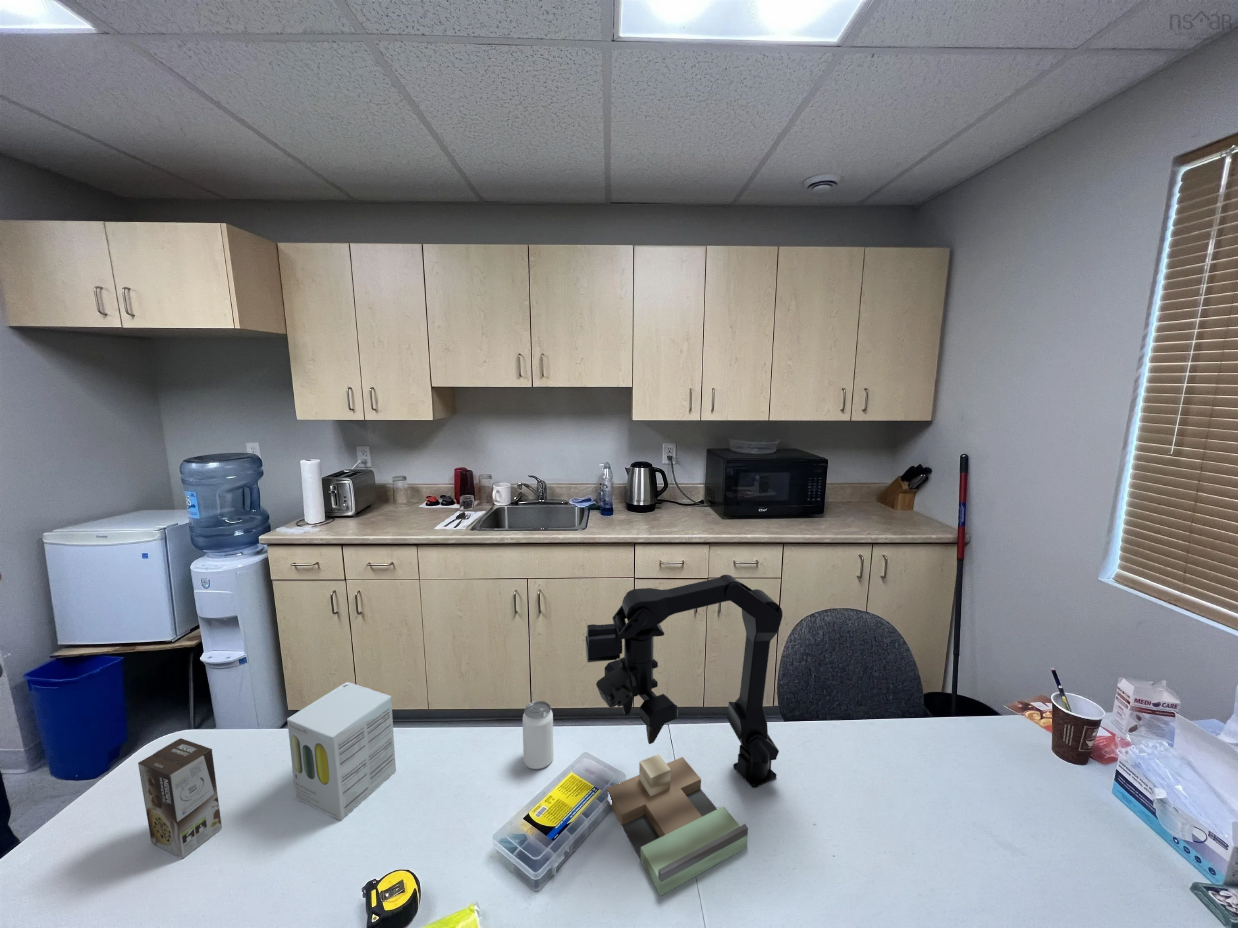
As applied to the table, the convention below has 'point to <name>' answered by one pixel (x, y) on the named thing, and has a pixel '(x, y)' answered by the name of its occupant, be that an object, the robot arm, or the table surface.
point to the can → (538, 735)
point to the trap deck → (676, 827)
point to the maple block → (654, 774)
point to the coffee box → (180, 796)
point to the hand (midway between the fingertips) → (638, 727)
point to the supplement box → (342, 748)
